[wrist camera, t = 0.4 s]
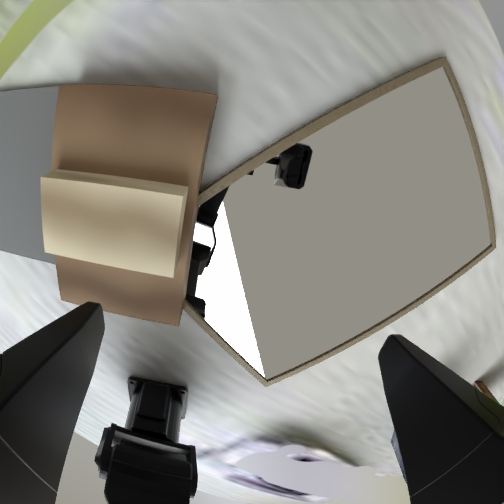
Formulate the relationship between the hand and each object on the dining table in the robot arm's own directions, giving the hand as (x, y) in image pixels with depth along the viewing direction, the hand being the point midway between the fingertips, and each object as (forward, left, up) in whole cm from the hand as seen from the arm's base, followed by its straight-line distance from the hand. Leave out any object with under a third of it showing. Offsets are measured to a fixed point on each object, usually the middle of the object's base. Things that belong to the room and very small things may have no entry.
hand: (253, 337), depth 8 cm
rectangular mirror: (-1, -9, -14) cm, 16 cm away
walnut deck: (-1, +8, -13) cm, 15 cm away
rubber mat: (0, +17, -13) cm, 22 cm away
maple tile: (-1, +8, -11) cm, 13 cm away
